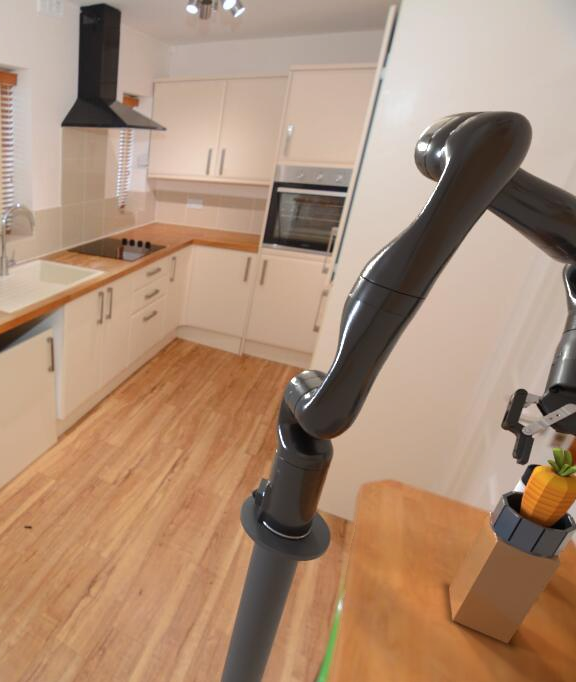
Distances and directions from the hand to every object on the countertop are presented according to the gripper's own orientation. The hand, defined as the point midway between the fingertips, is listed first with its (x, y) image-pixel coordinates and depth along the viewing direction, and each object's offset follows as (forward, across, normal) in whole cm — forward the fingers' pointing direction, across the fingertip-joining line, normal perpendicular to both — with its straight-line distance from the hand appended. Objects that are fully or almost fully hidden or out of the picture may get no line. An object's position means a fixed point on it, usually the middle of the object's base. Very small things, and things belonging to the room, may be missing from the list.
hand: (563, 476), depth 61 cm
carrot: (+7, 0, -10) cm, 12 cm away
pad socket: (+20, 0, -22) cm, 30 cm away
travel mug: (+8, -4, -35) cm, 36 cm away
